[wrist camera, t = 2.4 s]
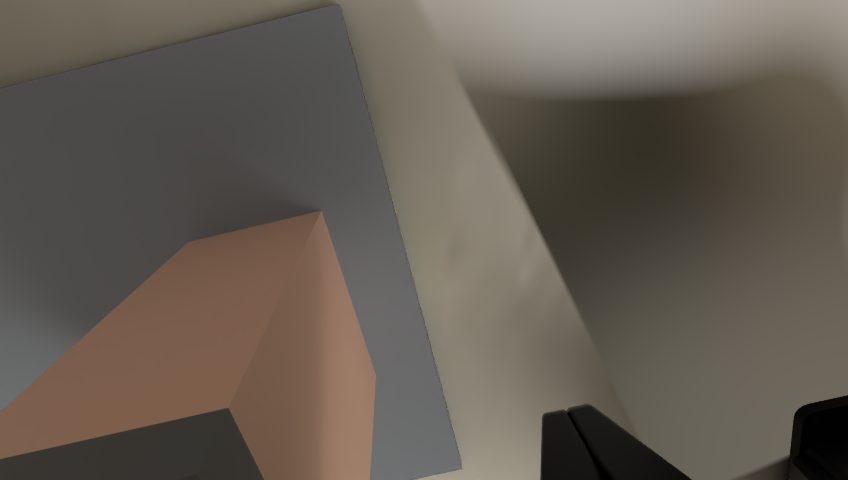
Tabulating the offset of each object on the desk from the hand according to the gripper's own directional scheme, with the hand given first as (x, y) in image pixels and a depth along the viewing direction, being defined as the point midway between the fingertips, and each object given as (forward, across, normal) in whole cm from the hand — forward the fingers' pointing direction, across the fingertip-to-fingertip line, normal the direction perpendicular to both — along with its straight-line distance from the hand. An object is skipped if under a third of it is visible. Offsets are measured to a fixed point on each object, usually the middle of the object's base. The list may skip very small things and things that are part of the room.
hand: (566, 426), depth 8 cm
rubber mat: (+7, +12, 0) cm, 13 cm away
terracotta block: (+7, +6, 0) cm, 9 cm away
